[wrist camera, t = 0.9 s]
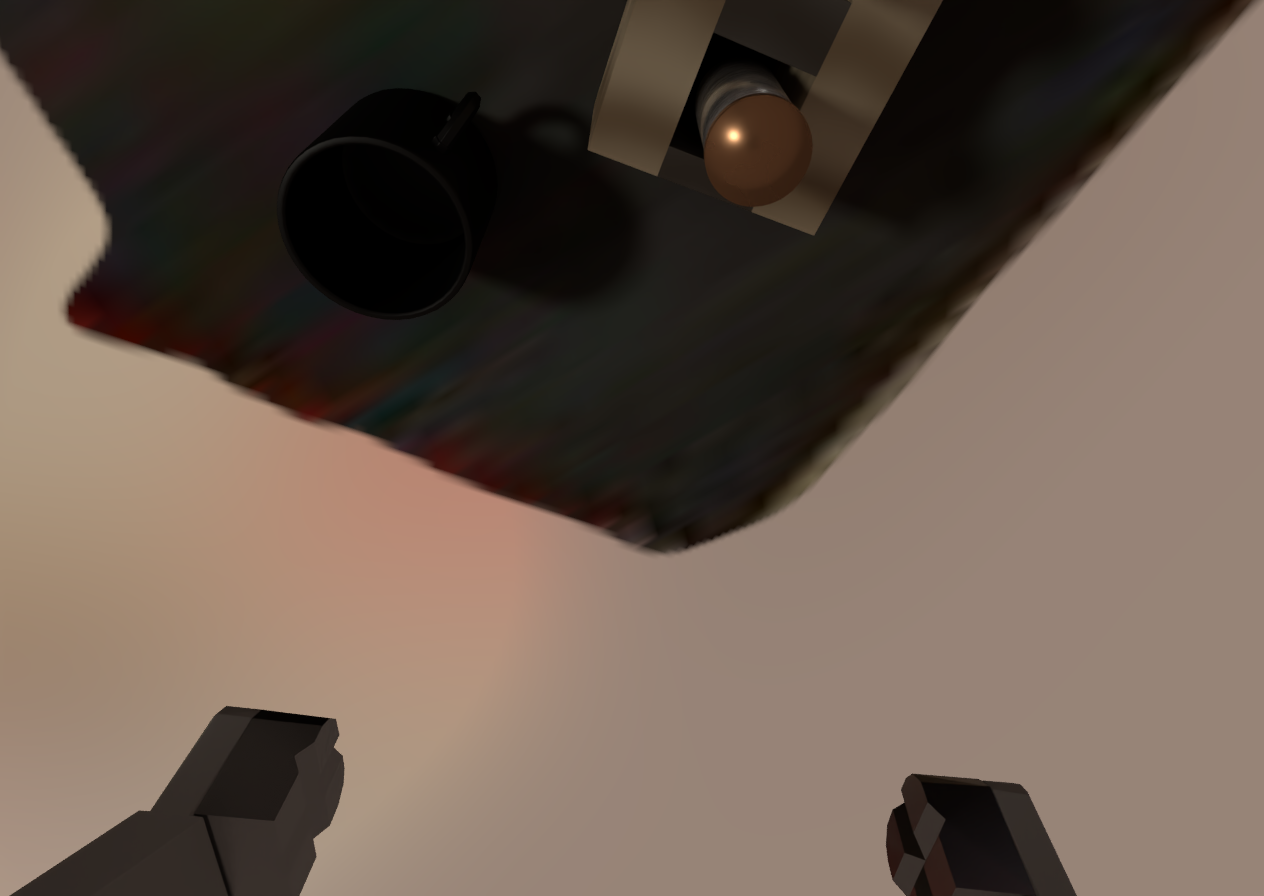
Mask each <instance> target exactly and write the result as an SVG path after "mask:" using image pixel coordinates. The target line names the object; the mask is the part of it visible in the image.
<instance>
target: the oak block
mask: <svg viewBox="0 0 1264 896" xmlns="http://www.w3.org/2000/svg"><path fill="white" fill-rule="evenodd" d="M942 1H943V0H627V3H626V7H625V10H624V13H623V16H622V19H621V22H620V25H619V29H618V32H617V35H616V38H615V41H614V44H613V47H612V51H611V54H610V57H609V60H608V63H607V66H606V69H605V73H604V76H603V79H602V82H601V85H600V88H599V91H598V95H597V98H596V101H595V104H594V110H593V117H592V124H591V131H590V137H589V144H588V150H589V151H592V152H594V153H597V154H600V155H602V156H605V157H608V158H610V159H613V160H616V161H618V162H621V163H623V164H626V165H629V166H631V167H634V168H637V169H639V170H642V171H645V172H647V173H650V174H653V175H655V176H658V177H661V178H663V179H666V180H668V181H671V182H674V183H676V184H679V185H682V186H684V187H687V188H690V189H692V190H695V191H698V192H700V193H703V194H705V195H708V196H711V197H713V198H716V199H719V200H721V201H724V202H727V203H729V204H732V205H735V206H737V207H740V208H742V209H745V210H748V211H750V212H753V213H756V214H758V215H761V216H764V217H766V218H769V219H772V220H774V221H777V222H780V223H782V224H785V225H787V226H790V227H793V228H795V229H798V230H801V231H803V232H806V233H809V234H811V235H815V233H816V231H817V229H818V227H819V225H820V224H821V222H822V220H823V218H824V216H825V215H826V213H827V211H828V209H829V207H830V205H831V204H832V202H833V200H834V198H835V196H836V194H837V193H838V191H839V189H840V187H841V185H842V183H843V182H844V180H845V178H846V176H847V174H848V173H849V171H850V169H851V167H852V165H853V163H854V162H855V160H856V158H857V156H858V154H859V152H860V151H861V149H862V147H863V145H864V143H865V141H866V140H867V138H868V136H869V134H870V132H871V131H872V129H873V127H874V125H875V123H876V121H877V120H878V118H879V116H880V114H881V112H882V110H883V109H884V107H885V105H886V103H887V101H888V99H889V98H890V96H891V94H892V92H893V90H894V89H895V87H896V85H897V83H898V81H899V79H900V78H901V76H902V74H903V72H904V70H905V68H906V67H907V65H908V63H909V61H910V59H911V57H912V56H913V54H914V52H915V50H916V48H917V47H918V45H919V43H920V41H921V39H922V37H923V36H924V34H925V32H926V30H927V28H928V26H929V25H930V23H931V21H932V19H933V17H934V15H935V14H936V12H937V10H938V8H939V6H940V5H941V3H942ZM713 33H716V34H718V35H720V36H723V37H725V38H727V39H730V40H732V41H734V42H737V43H739V44H741V45H744V46H746V47H748V48H751V49H753V50H755V51H758V52H760V53H762V54H764V55H767V56H769V57H771V58H774V59H776V60H778V62H777V64H776V66H775V69H774V71H773V75H774V76H775V78H776V79H777V81H778V82H779V84H780V86H781V87H782V89H783V90H784V92H785V93H786V95H787V96H788V98H789V100H790V101H791V103H793V104H794V105H795V106H796V107H797V108H798V109H799V111H800V112H801V113H802V115H803V116H804V118H805V119H806V121H807V123H808V125H809V128H810V131H811V135H812V143H813V148H812V157H811V161H810V164H809V167H808V169H807V172H806V174H805V175H804V177H803V179H802V180H801V182H800V183H799V184H798V186H797V187H796V188H795V189H794V190H793V191H792V192H790V193H789V194H788V195H787V196H785V197H784V198H782V199H780V200H778V201H776V202H774V203H771V204H769V205H764V206H758V207H747V206H741V205H738V204H735V203H733V202H731V201H729V200H727V199H726V198H724V197H723V196H722V195H720V194H719V193H718V192H717V190H716V189H715V188H714V186H713V185H712V183H711V182H710V179H709V177H708V174H707V171H706V167H705V162H704V149H703V144H702V140H701V136H700V132H699V128H698V124H697V120H696V116H695V114H694V113H691V112H689V111H686V110H684V106H685V103H686V101H687V98H688V96H689V93H690V91H691V88H692V85H693V83H694V80H695V78H696V75H697V73H698V70H699V68H700V65H701V62H702V60H703V57H704V55H705V52H706V50H707V47H708V44H709V42H710V39H711V37H712V34H713Z"/></svg>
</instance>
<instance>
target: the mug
mask: <svg viewBox="0 0 1264 896" xmlns="http://www.w3.org/2000/svg"><path fill="white" fill-rule="evenodd" d="M480 101H481V97H480V96H479V95H478V94H477V93H476V92H468V93H467V94H466V95H465V97H464V98H463V99H462V101H461V102H460V103H459V105H458V106H457V107H456V108H455V107H454V106H452V105H451V104H449V103H448V102H446V101H444V100H442V99H440V98H439V97H436V96H434V95H431V94H428V93H426V92H422V91H418V90H413V89H400V88H398V89H387V90H382V91H379V92H375V93H373V94H370V95H368V96H366V97H364V98H363V99H361V100H359V101H358V102H357V103H356V104H354V105H353V106H352V107H351V108H350V109H349V110H348V111H347V112H345V113H344V114H343V115H342V116H341V117H340V118H339V119H338V120H337V121H336V122H334V123H333V124H332V125H331V126H330V127H329V128H328V129H327V130H326V131H325V132H323V133H322V134H321V135H320V136H319V137H318V138H317V139H316V140H315V141H314V142H312V143H311V144H310V145H309V146H308V147H307V148H306V149H305V150H304V151H303V152H301V153H300V154H299V155H298V156H297V157H296V158H295V160H294V161H293V162H292V163H291V165H290V166H289V167H288V169H287V171H286V173H285V175H284V177H283V179H282V182H281V185H280V189H279V193H278V201H277V215H278V225H279V228H280V232H281V236H282V239H283V242H284V244H285V246H286V249H287V251H288V253H289V255H290V257H291V258H292V260H293V262H294V263H295V265H296V266H297V268H298V269H299V270H300V271H301V273H302V274H303V275H304V276H305V278H306V279H307V280H308V281H309V282H310V283H311V284H312V285H313V286H314V287H315V288H317V289H318V290H319V291H320V292H321V293H323V294H324V295H325V296H327V297H328V298H329V299H331V300H333V301H334V302H336V303H338V304H339V305H341V306H343V307H345V308H347V309H349V310H352V311H354V312H356V313H359V314H363V315H366V316H370V317H374V318H380V319H390V320H401V319H411V318H415V317H419V316H423V315H426V314H428V313H430V312H433V311H435V310H437V309H439V308H440V307H442V306H443V305H445V304H446V303H447V302H448V301H450V300H451V299H452V298H453V297H454V296H455V295H456V294H457V293H458V291H459V290H460V288H461V287H462V286H463V284H464V282H465V280H466V278H467V276H468V274H469V272H470V269H471V267H472V264H473V261H474V259H475V256H476V254H477V251H478V248H479V246H480V243H481V241H482V238H483V235H484V233H485V230H486V228H487V225H488V223H489V220H490V217H491V215H492V212H493V209H494V205H495V202H496V196H497V175H496V169H495V165H494V160H493V158H492V155H491V152H490V150H489V148H488V146H487V144H486V142H485V140H484V138H483V137H482V135H481V134H480V132H479V131H478V130H477V128H476V127H475V126H474V125H473V123H472V122H471V120H472V118H473V117H474V115H475V114H476V112H477V111H478V109H479V107H480Z"/></svg>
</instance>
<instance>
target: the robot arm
mask: <svg viewBox="0 0 1264 896" xmlns="http://www.w3.org/2000/svg"><path fill="white" fill-rule="evenodd" d="M338 736H339V731H338V727H337V722H336V719H332V718H324V717H315V716H307V715H299V714H291V713H283V712H275V711H267V710H259V709H250V708H240V707H231V706H226V707H225V708H223V709H222V710H221V711H220V712H218V713H217V714H216V715H215V716H214V717H213V719H212V720H211V721H210V723H209V724H208V726H207V727H206V729H205V730H204V732H203V733H202V735H201V736H200V738H199V739H198V741H197V742H196V744H195V745H194V747H193V748H192V750H191V751H190V753H189V754H188V756H187V757H186V759H185V760H184V762H183V763H182V765H181V766H180V768H179V769H178V771H177V772H176V774H175V775H174V777H173V778H172V780H171V781H170V782H169V784H168V786H167V787H166V789H165V790H164V792H163V793H162V794H161V796H160V797H159V799H158V800H157V802H156V803H155V805H154V806H153V808H152V809H151V811H138V812H136V813H135V814H133V815H132V816H130V817H129V818H127V819H126V820H124V821H122V822H121V823H119V824H118V825H116V826H115V827H113V828H112V829H110V830H109V831H107V832H106V833H104V834H103V835H101V836H100V837H98V838H97V839H95V840H94V841H92V842H91V843H89V844H87V845H86V846H84V847H83V848H81V849H80V850H79V851H77V852H75V853H74V854H72V855H71V856H69V857H68V858H66V859H65V860H63V861H62V862H60V863H59V864H57V865H56V866H54V867H53V868H51V869H50V870H48V871H47V872H45V873H43V874H42V875H40V876H39V877H37V878H36V879H34V880H33V881H31V882H30V883H28V884H27V885H25V886H24V887H22V888H21V889H19V890H18V891H16V892H15V893H13V894H12V895H10V896H299V895H300V893H301V891H302V889H303V886H304V884H305V882H306V879H307V877H308V875H309V872H310V870H311V868H312V866H313V863H314V861H315V858H316V852H315V847H314V841H313V838H315V837H316V836H317V835H318V834H320V833H321V832H322V831H323V830H325V829H326V828H327V827H328V826H330V824H331V821H332V819H333V816H334V814H335V812H336V809H337V807H338V803H339V799H340V795H341V791H342V787H343V783H344V762H343V756H342V755H341V754H340V753H339V752H338V751H337V750H336V749H335V748H334V745H335V743H336V741H337V739H338ZM901 791H902V795H903V798H904V802H905V803H903V804H901V805H900V806H898V807H896V808H895V809H893V810H892V813H891V816H890V819H889V822H888V825H887V838H886V848H887V856H888V863H889V867H890V871H891V875H892V879H893V881H894V882H895V883H896V885H898V887H899V888H900V889H901V890H902V891H903V892H904V894H905V895H906V896H1077V895H1076V893H1075V891H1074V889H1073V887H1072V885H1071V883H1070V881H1069V878H1068V876H1067V874H1066V872H1065V870H1064V868H1063V866H1062V864H1061V862H1060V860H1059V858H1058V855H1057V853H1056V851H1055V849H1054V847H1053V845H1052V843H1051V840H1050V839H1049V836H1048V834H1047V832H1046V830H1045V828H1044V826H1043V824H1042V822H1041V820H1040V818H1039V815H1038V813H1037V811H1036V809H1035V807H1034V805H1033V803H1032V801H1031V799H1030V796H1029V794H1028V792H1027V791H1026V790H1025V789H1024V788H1023V787H1022V786H1021V785H1020V784H1014V783H1005V782H993V781H981V780H979V779H971V778H958V777H945V776H933V775H921V774H911V775H910V776H908V777H907V778H906V779H905V782H904V784H903V787H902V789H901Z"/></svg>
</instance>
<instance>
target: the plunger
mask: <svg viewBox="0 0 1264 896" xmlns="http://www.w3.org/2000/svg"><path fill="white" fill-rule="evenodd" d="M694 106H695V116H696V120H697V124H698V128H699V132H700V136H701V140H702V144H703V149H704V162H705V167H706V171H707V174H708V177H709V179H710V182H711V183H712V185H713V186H714V188H715V189H716V190H717V192H718V193H719V194H720V195H722V196H723V197H724V198H726V199H727V200H729V201H731V202H733V203H735V204H738V205H741V206H747V207H758V206H764V205H769V204H771V203H774V202H776V201H778V200H780V199H782V198H784V197H785V196H787V195H788V194H789V193H790V192H792V191H793V190H794V189H795V188H796V187H797V186H798V184H799V183H800V182H801V180H802V179H803V177H804V175H805V174H806V172H807V169H808V167H809V164H810V161H811V157H812V148H813V143H812V135H811V131H810V128H809V125H808V123H807V121H806V119H805V118H804V116H803V115H802V113H801V112H800V111H799V109H798V108H797V107H796V106H795V105H794V104H793V103H791V101H790V100H789V98H788V96H787V95H786V93H785V92H784V90H783V89H782V87H781V86H780V84H779V82H778V81H777V79H776V78H775V76H774V75H773V73H772V72H771V71H770V69H769V68H768V67H767V66H766V65H764V64H763V63H762V62H760V61H758V60H756V59H753V58H750V57H741V56H739V57H732V58H728V59H726V60H723V61H721V62H719V63H718V64H716V65H715V66H714V67H712V68H711V69H710V70H709V71H708V72H707V73H706V75H705V76H704V77H703V79H702V81H701V82H700V84H699V87H698V89H697V92H696V96H695V105H694Z"/></svg>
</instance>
